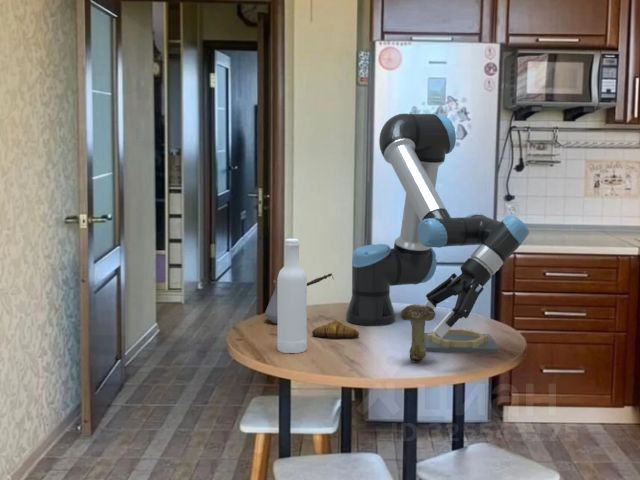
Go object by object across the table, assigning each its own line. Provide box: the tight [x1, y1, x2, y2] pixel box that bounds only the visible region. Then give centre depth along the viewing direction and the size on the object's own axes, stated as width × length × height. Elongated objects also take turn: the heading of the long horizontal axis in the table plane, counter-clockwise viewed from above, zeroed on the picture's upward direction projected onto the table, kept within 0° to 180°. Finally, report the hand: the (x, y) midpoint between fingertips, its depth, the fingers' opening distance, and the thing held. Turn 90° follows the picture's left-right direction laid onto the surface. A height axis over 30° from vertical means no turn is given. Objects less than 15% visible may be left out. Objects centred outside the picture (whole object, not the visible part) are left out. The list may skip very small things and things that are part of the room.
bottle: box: [276, 238, 308, 354], centre depth 209 cm, size 8×8×30 cm
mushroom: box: [400, 303, 436, 363], centre depth 199 cm, size 9×9×15 cm
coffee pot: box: [264, 273, 335, 325], centre depth 243 cm, size 21×12×15 cm, turn 95°
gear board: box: [424, 328, 500, 354], centre depth 217 cm, size 20×16×3 cm
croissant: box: [311, 320, 360, 339], centre depth 225 cm, size 14×7×5 cm, turn 83°
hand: (425, 328), depth 199 cm, fingers open, 13 cm apart
